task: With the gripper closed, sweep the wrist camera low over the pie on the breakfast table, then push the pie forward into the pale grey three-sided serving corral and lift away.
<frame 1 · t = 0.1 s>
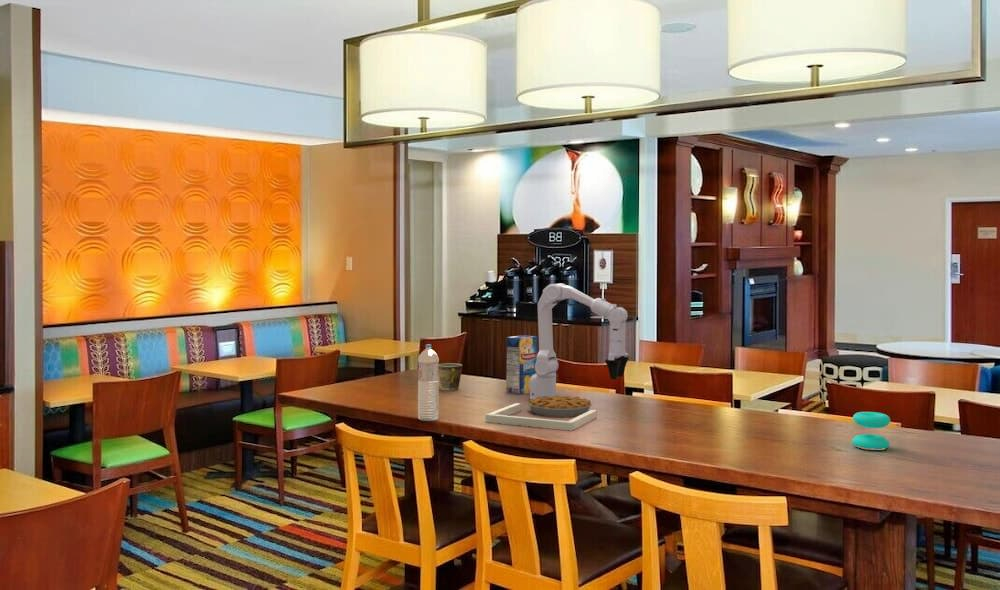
hand: (616, 377, 327), 10 cm above the table, fingers open, 7 cm apart
serving corral: (543, 419, 300), on the table
beverage box: (521, 392, 356), on the table
water bottle: (428, 420, 298), on the table
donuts: (870, 448, 260), on the table
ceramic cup: (450, 390, 359), on the table
pie: (559, 413, 313), on the table
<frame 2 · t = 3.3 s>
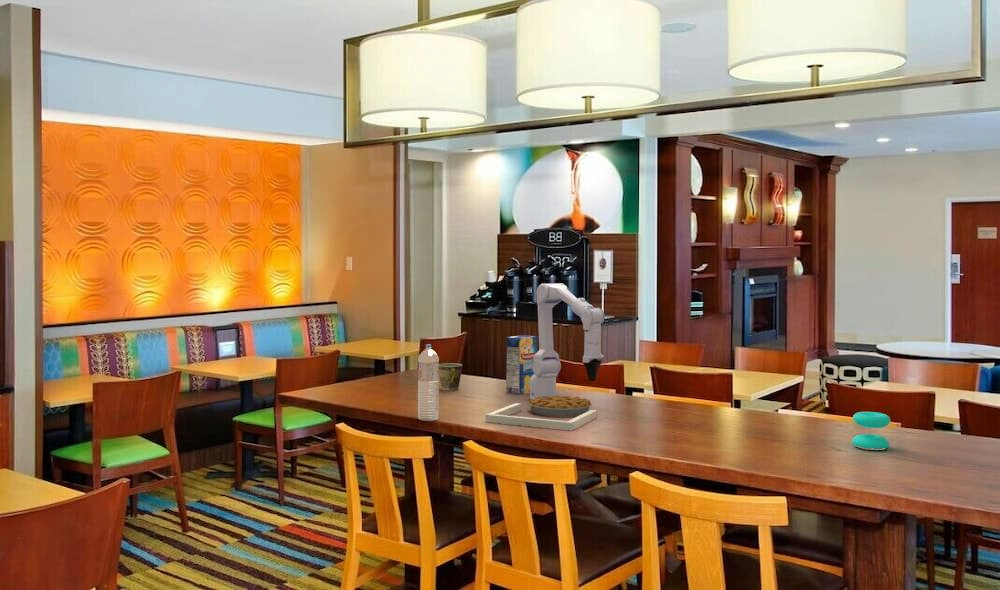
hand: (592, 380, 316), 10 cm above the table, fingers closed
nothing on the table moved.
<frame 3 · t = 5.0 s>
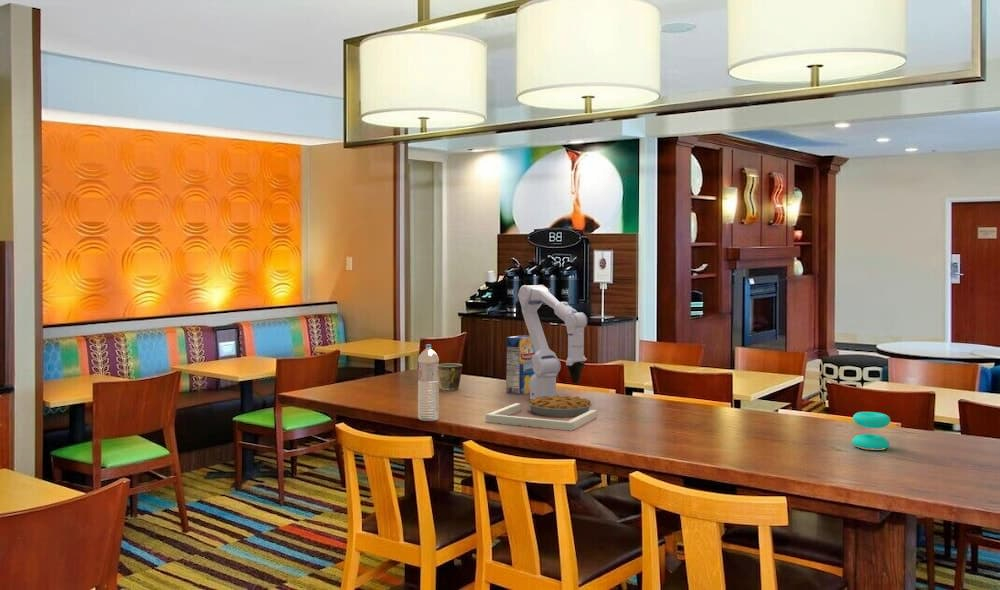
hand: (575, 383, 327), 8 cm above the table, fingers closed
nothing on the table moved.
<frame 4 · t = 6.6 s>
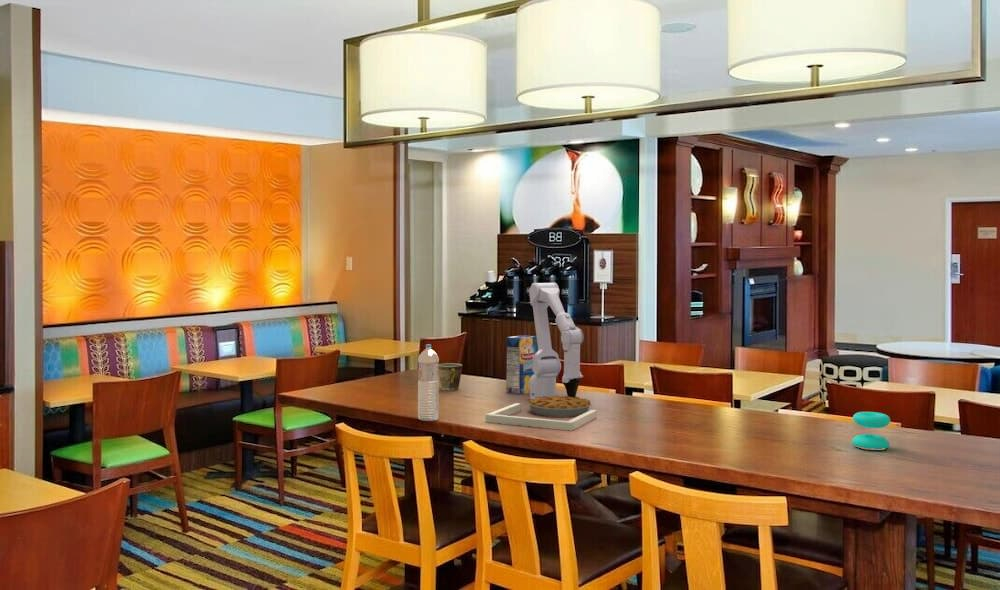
hand: (571, 399, 324), 2 cm above the table, fingers closed
pie: (559, 413, 313), on the table, touching gripper
everything else where it was.
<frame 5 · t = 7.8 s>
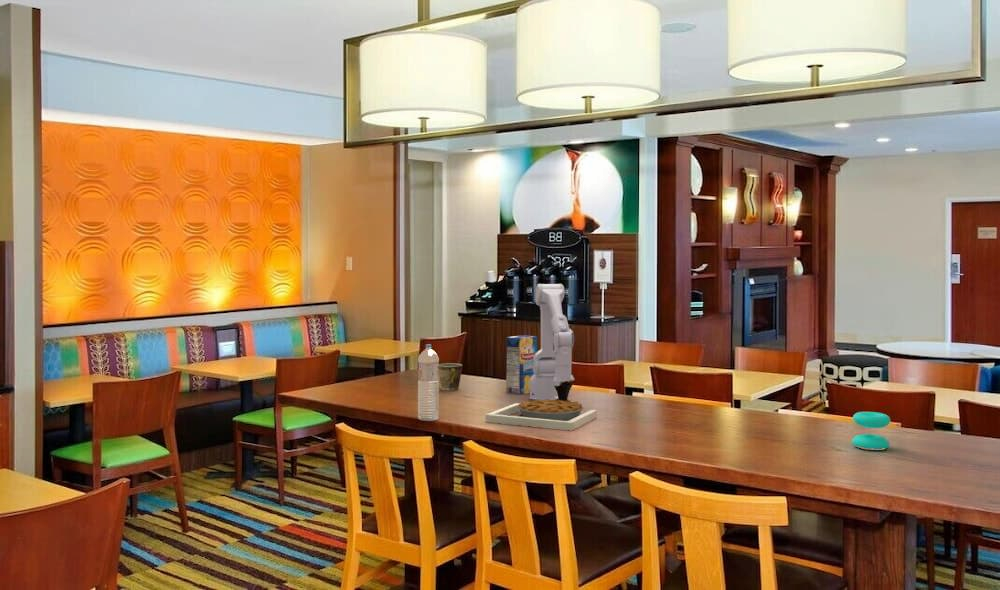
hand: (562, 403, 316), 2 cm above the table, fingers closed
pie: (550, 417, 305), on the table, touching gripper
everything else where it was.
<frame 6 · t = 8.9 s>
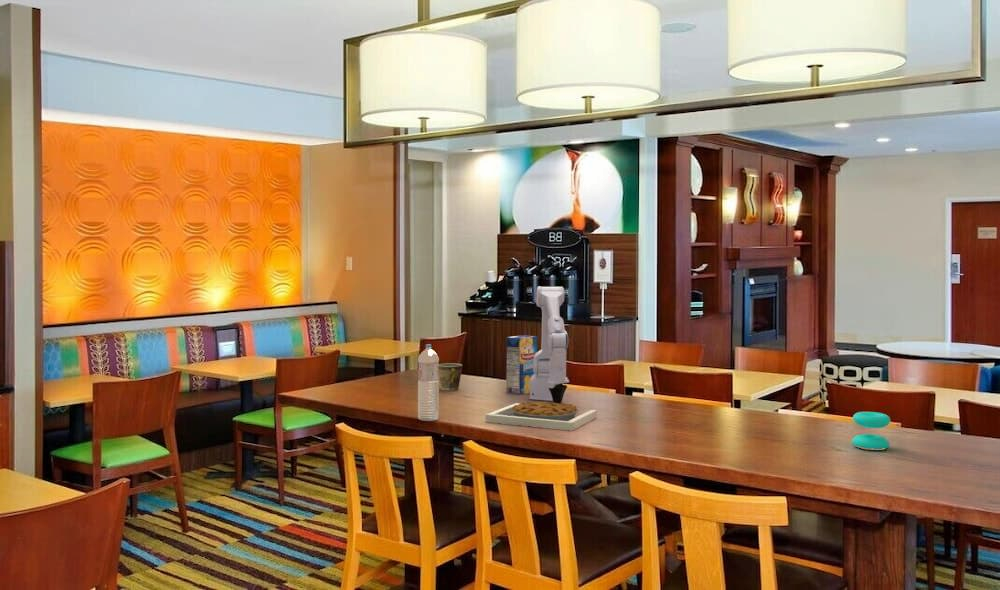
hand: (557, 406, 311), 2 cm above the table, fingers closed
pie: (544, 419, 301), on the table, touching gripper
everything else where it was.
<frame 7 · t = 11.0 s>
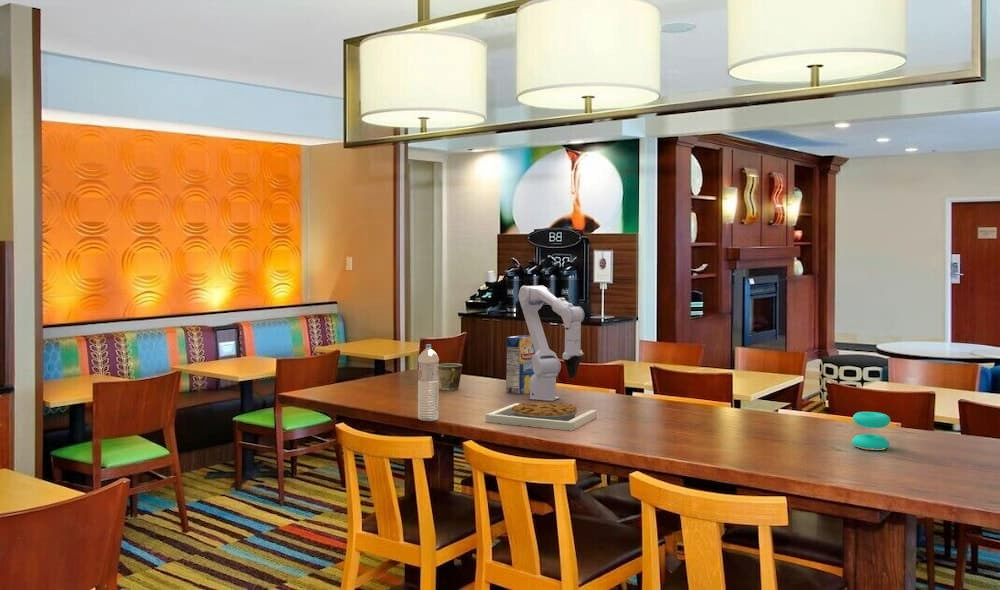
hand: (572, 377, 326), 10 cm above the table, fingers closed
pie: (544, 420, 300), on the table
everything else where it was.
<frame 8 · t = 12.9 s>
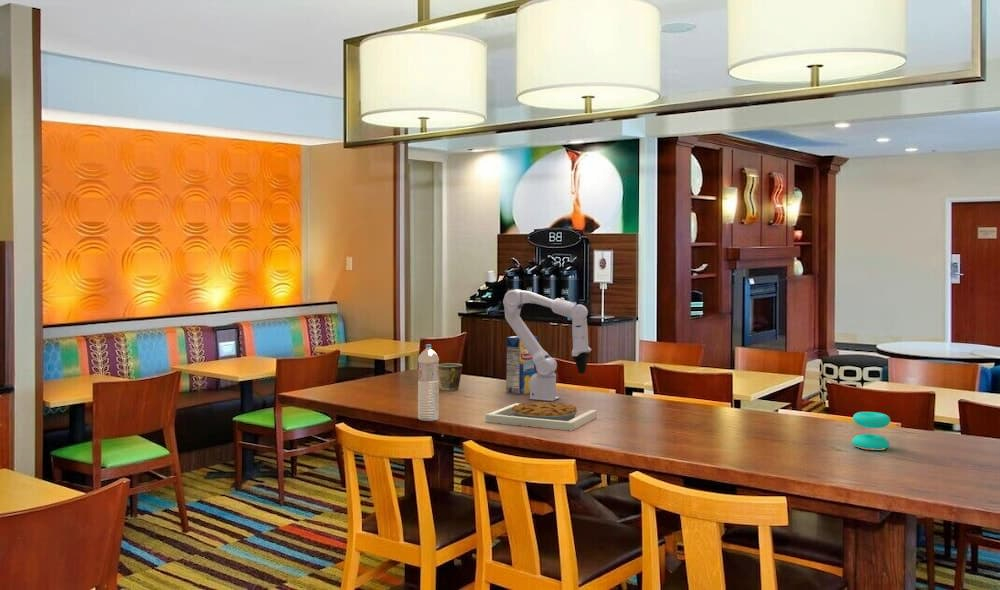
hand: (582, 373, 335), 10 cm above the table, fingers closed
nothing on the table moved.
at the end: pie inside the target area on the serving corral (0.4 cm from its centre), point -0.5 cm above the serving corral's base; pie moved 14.4 cm from its start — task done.
